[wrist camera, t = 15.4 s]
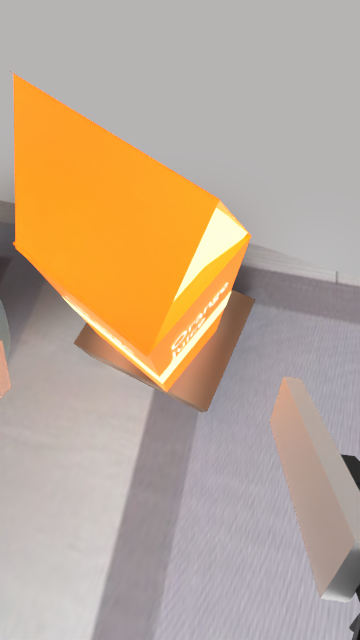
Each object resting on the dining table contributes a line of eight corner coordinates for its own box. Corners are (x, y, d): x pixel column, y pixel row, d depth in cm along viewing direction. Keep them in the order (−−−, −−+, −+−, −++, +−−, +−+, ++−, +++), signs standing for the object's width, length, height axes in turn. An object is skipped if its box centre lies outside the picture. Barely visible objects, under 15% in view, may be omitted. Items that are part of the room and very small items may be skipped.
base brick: (91, 356, 32) (73, 343, 27) (141, 274, 36) (134, 247, 30) (201, 412, 30) (207, 410, 25) (242, 319, 34) (255, 299, 29)
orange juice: (166, 393, 25) (119, 306, 6) (96, 334, 27) (-99, 133, 8) (218, 329, 27) (299, 118, 8) (149, 278, 29) (91, 16, 10)
